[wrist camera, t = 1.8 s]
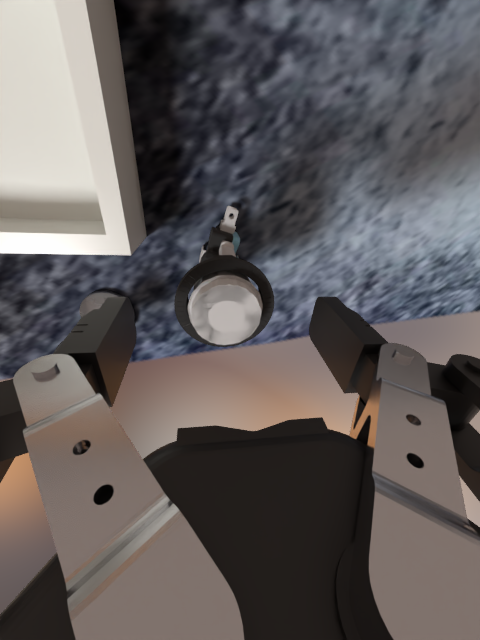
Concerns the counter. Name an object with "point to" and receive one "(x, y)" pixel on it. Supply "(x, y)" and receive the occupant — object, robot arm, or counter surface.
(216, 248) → the push button
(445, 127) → the counter surface
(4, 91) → the bin
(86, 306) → the ball stud post
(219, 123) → the counter surface
